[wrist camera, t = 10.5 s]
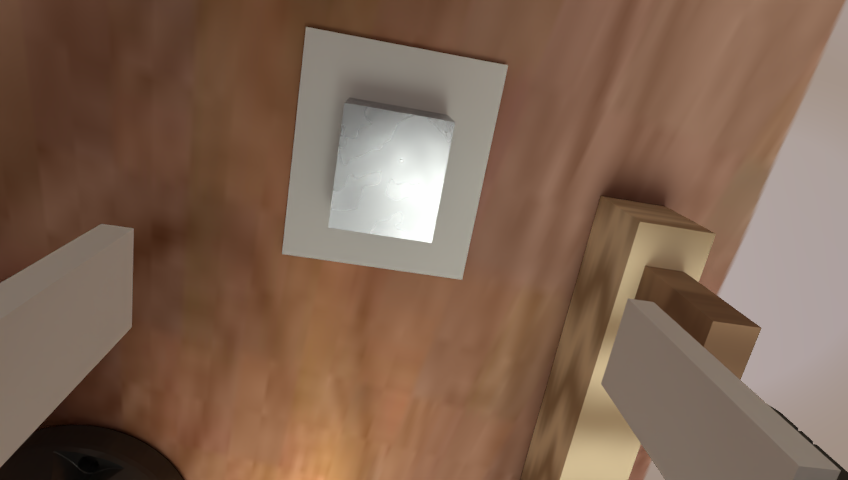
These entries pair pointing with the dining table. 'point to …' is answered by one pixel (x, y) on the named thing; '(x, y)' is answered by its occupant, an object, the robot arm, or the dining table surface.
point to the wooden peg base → (598, 325)
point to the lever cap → (390, 170)
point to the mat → (402, 86)
